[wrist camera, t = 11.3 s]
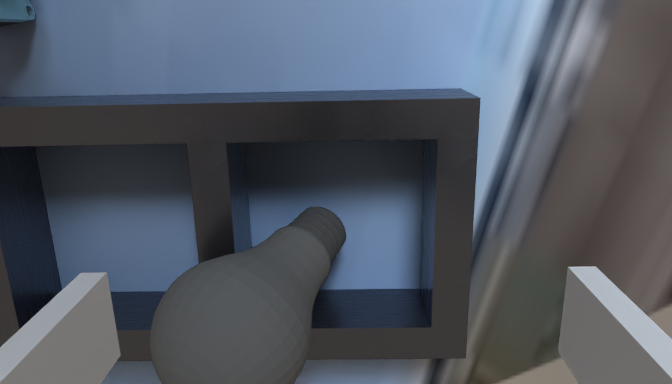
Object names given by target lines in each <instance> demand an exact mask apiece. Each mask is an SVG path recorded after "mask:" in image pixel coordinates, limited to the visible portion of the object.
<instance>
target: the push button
mask: <svg viewBox="0 0 672 384" xmlns="http://www.w3.org/2000/svg"><path fill="white" fill-rule="evenodd" d="M33 19H35V12H34V9H33V6H32V4H31V2H30V0H0V27H2V26H6V25H11V24H16V23H20V22H25V21H30V20H33Z"/></svg>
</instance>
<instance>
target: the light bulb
mask: <svg viewBox="0 0 672 384" xmlns="http://www.w3.org/2000/svg"><path fill="white" fill-rule="evenodd" d="M345 240H346V232H345V228H344V225H343V223H342V222H341V220H340V219H339V218H338V217H337V216H336V215H335V214H334V213H333V212H331V211H330V210H328V209H325V208H322V207H310V208H308V209H306V210H305V211H304V212H303V213H301V214H300V215H299V216H298V217H297V218H296V219H294V221H293V222H292V223H290V224H289V225H288V226H286V227H282V228H280V229H278V230H277V231H275V232H274V233H273V234H272V235H271V236H270V237H269V238H268V239H266V240H265V241H263V242H262V243H260V244H259V245H257V246H255V247H253V248H251V249H248V250H246V251H243V252H239V253H234V254H229V255H225V256H221V257H218V258H215V259H211V260H208V261H205V262H201V263H200V264H198V265H196V266H194V267H193V268H191V269H189V270H187V271H186V272H185V273H183V274H182V275H181V276H180V277H178V278H177V279H176V280H175V281H174V282H173V283H172V284H171V286H170V287H169V288H168V290H167V291H166V293H165V294H164V295H163V297H162V299H161V301H160V303H159V305H158V307H157V309H156V311H155V313H154V317H153V322H152V326H151V334H150V350H151V355H152V360H153V365H154V368H155V370H156V372H157V375H158V377H159V379H160V381H161V383H162V384H293V383H294V382H295V380H296V379H297V377H298V376H299V374H300V373H301V371H302V368H303V365H304V363H305V360H306V358H307V354H308V348H309V341H310V334H311V324H312V309H313V305H314V301H315V298H316V295H317V293H318V291H319V289H320V287H321V285H322V283H323V282H324V280H325V279H326V277H327V276H328V274H329V271H330V267H331V264H330V263H331V262H332V261H333V260H334V258H335V257H336V255H337V254H338V252H339V251H340V249H341V247H342V246H343V244H344V242H345Z"/></svg>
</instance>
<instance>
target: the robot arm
mask: <svg viewBox="0 0 672 384" xmlns="http://www.w3.org/2000/svg"><path fill="white" fill-rule="evenodd" d="M558 352H559V354H560V355H561V357H562V358H563V360H564V361H565V363H566V364H567V366H568V368H569V369H570V371H571V372H572V374H573V375H574V377H575V378H576V380H577V381H578V383H579V384H672V339H671V338H670V337H669V336H668V335H667V334H665V332H664V331H662V330H661V329H660V328H659V327H658V326H657V325H656V324H655V323H654V322H653V321H652V320H651V319H650V318H649V317H648V316H647V315H646V314H645V313H644V312H643V311H642V310H641V309H639V308H638V307H637V306H636V305H635V304H634V303H633V302H632V301H631V300H630V299H629V298H628V297H627V296H626V295H625V294H624V293H623V292H622V291H621V290H620V289H619V288H618V287H616V286H615V285H614V284H613V283H612V282H611V281H610V280H609V279H608V278H607V277H606V276H605V275H604V274H603V273H602V272H601V271H600V270H599V269H598V268H597V267H568V272H567V280H566V289H565V297H564V306H563V314H562V322H561V331H560V339H559V348H558ZM120 356H121V354H120V348H119V342H118V336H117V330H116V324H115V318H114V311H113V305H112V299H111V293H110V287H109V281H108V275H107V272H101V273H80V274H79V275H78V276H77V277H76V278H75V279H73V280H72V281H71V282H70V283H69V284H68V285H67V286H66V287H65V288H64V289H63V290H62V291H60V292H59V293H58V294H57V295H56V296H55V297H54V298H53V299H52V300H51V301H50V302H49V303H48V304H46V305H45V306H44V307H43V308H42V309H41V310H40V311H39V312H38V313H37V314H36V315H35V316H33V317H32V318H31V319H30V320H29V321H28V322H27V323H26V324H25V325H24V326H23V327H22V328H21V329H19V330H18V331H17V332H16V333H15V334H14V335H13V336H12V337H11V338H10V339H9V340H8V341H6V342H5V343H4V344H3V345H2V346H1V347H0V384H101V383H102V382H103V380H104V379H105V377H106V376H107V374H108V373H109V372H110V370H111V369H112V367H113V366H114V364H115V363H116V361H117V360H118V358H119V357H120Z"/></svg>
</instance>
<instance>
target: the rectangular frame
mask: <svg viewBox="0 0 672 384" xmlns="http://www.w3.org/2000/svg"><path fill="white" fill-rule="evenodd" d="M479 113H480V98H479V97H477V96H475V95H473V94H471V93H469V92H467V91H465V90H463V89H411V90H360V91H309V92H258V93H207V94H156V95H105V96H54V97H3V98H0V347H1V346H2V345H3V344H4V343H5V342H6V341H8V340H9V339H10V338H11V337H12V336H13V335H14V334H15V333H16V332H17V331H18V330H19V329H21V328H22V327H23V326H24V325H25V324H26V323H27V322H28V321H29V320H30V319H31V318H32V317H33V316H35V315H36V314H37V313H38V312H39V311H40V310H41V309H42V308H43V307H44V306H45V305H46V304H48V303H49V302H50V301H51V300H52V299H53V298H54V297H55V296H56V295H57V294H58V293H59V292H60V291H62V290H61V285H60V279H59V274H58V269H57V263H56V258H55V253H54V248H53V242H52V237H51V232H50V226H49V221H48V216H47V210H46V205H45V200H44V194H43V189H42V184H41V178H40V173H39V168H38V162H37V157H36V152H35V147H34V146H70V145H128V144H185V143H187V152H188V161H189V171H190V180H191V190H192V200H193V209H194V219H195V229H196V238H197V248H198V257H199V264H200V263H201V262H205V261H208V260H211V259H215V258H218V257H221V256H225V255H229V254H234V253H239V252H243V251H246V250H248V249H251V248H252V242H251V228H250V215H249V201H248V187H247V173H246V159H245V145H244V142H301V141H358V140H416V139H424V166H423V204H422V241H421V278H420V289H361V290H319V291H318V293H317V295H316V298H315V301H314V305H313V309H312V324H311V334H310V341H309V348H308V354H307V358H306V360H308V359H444V358H466V343H467V325H468V308H469V290H470V272H471V254H472V237H473V219H474V201H475V184H476V166H477V148H478V130H479ZM110 293H111V299H112V305H113V311H114V318H115V324H116V330H117V336H118V342H119V348H120V354H121V356H120V357H119V358H118V360H117V361H153V360H152V355H151V350H150V334H151V326H152V322H153V317H154V313H155V311H156V309H157V307H158V305H159V303H160V301H161V299H162V297H163V295H164V294H165V293H166V292H110Z"/></svg>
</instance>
